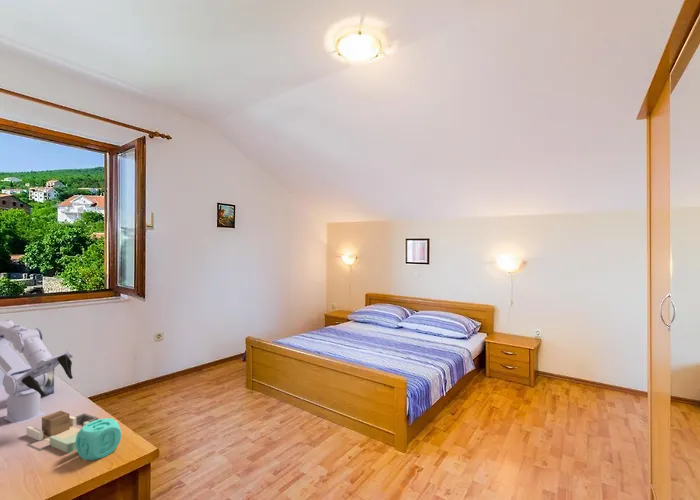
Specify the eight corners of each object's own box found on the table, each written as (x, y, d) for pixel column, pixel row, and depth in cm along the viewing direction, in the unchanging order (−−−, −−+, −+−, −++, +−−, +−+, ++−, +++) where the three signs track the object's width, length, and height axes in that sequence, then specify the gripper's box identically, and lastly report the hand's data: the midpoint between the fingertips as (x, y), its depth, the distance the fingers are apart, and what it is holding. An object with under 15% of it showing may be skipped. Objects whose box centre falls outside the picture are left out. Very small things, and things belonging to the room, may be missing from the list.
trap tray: (14, 441, 104) (14, 431, 104) (73, 418, 119) (73, 409, 119) (57, 460, 96) (57, 450, 96) (115, 432, 110) (115, 423, 110)
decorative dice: (105, 441, 105) (105, 415, 105) (121, 448, 102) (121, 421, 102) (75, 456, 98) (75, 428, 98) (91, 464, 95) (91, 435, 95)
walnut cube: (41, 433, 108) (41, 417, 108) (60, 425, 113) (60, 410, 113) (50, 437, 106) (50, 420, 106) (69, 429, 111) (69, 413, 111)
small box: (25, 405, 128) (25, 376, 128) (11, 403, 130) (11, 375, 129) (55, 393, 139) (55, 367, 138) (42, 391, 140) (42, 365, 140)
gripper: (5, 366, 108) (22, 397, 103) (58, 337, 117) (77, 364, 112) (16, 375, 113) (34, 406, 108) (67, 347, 122) (85, 374, 117)
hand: (56, 385), depth 110 cm, fingers open, 7 cm apart
